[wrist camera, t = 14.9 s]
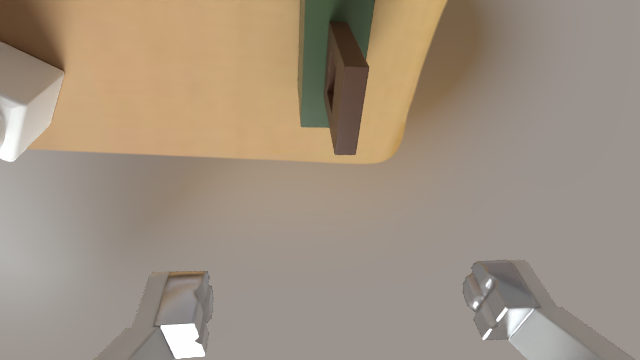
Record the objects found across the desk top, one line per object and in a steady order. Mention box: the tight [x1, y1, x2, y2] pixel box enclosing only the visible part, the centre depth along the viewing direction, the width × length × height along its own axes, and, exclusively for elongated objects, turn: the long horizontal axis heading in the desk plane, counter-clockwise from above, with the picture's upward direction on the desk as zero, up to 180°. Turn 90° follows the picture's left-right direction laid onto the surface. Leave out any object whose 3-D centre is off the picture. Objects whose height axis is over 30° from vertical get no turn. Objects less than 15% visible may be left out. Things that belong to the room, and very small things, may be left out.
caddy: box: [298, 0, 375, 155], centre depth 28 cm, size 12×5×16 cm, turn 176°
